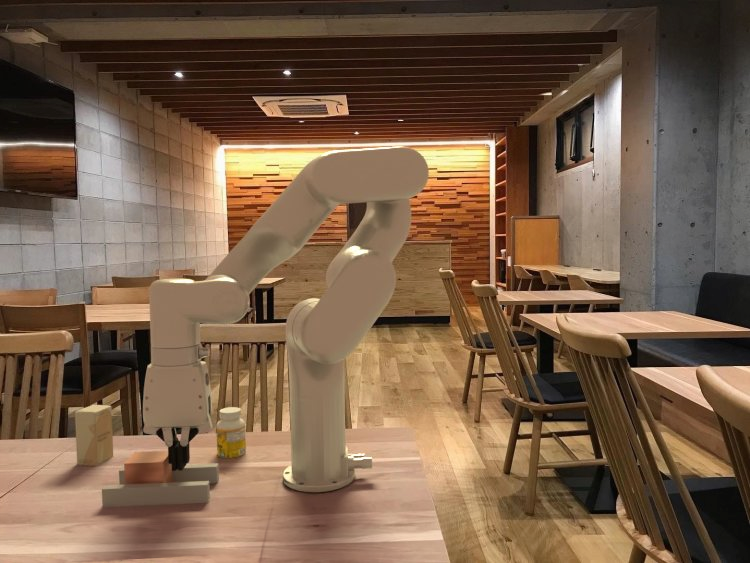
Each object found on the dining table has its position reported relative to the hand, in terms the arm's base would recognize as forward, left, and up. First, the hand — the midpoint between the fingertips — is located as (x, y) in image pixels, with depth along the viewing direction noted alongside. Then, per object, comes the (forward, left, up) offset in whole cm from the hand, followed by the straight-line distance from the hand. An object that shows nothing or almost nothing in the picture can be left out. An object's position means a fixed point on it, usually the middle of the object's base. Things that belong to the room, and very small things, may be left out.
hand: (179, 467), depth 96 cm
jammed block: (+5, 0, -4) cm, 6 cm away
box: (+20, -16, -6) cm, 26 cm away
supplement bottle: (-5, -17, -6) cm, 19 cm away
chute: (+7, 0, -5) cm, 9 cm away
